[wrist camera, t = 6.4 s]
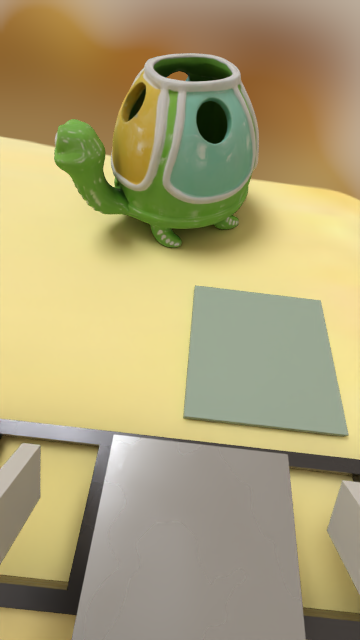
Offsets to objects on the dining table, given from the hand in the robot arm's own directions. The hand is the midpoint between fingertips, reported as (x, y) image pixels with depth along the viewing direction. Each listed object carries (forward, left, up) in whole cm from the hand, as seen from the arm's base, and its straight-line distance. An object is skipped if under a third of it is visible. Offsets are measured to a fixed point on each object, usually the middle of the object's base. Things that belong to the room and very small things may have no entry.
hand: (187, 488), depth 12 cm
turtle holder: (+17, +19, -6) cm, 26 cm away
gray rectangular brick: (-1, -1, -5) cm, 6 cm away
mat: (+11, +2, -5) cm, 12 cm away
